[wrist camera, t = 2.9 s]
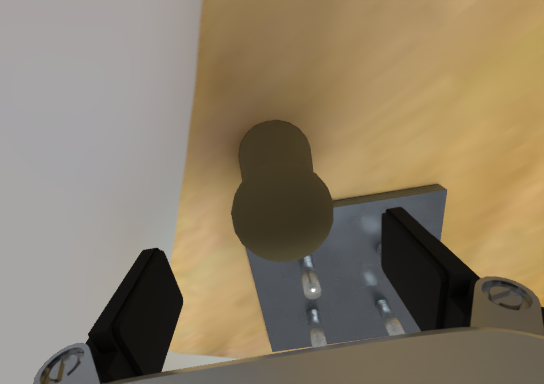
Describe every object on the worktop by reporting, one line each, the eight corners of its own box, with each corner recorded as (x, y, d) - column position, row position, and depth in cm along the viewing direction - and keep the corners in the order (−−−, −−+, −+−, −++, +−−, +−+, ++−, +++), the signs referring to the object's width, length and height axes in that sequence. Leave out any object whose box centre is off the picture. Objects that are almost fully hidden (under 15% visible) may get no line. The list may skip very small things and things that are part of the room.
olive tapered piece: (326, 151, 22) (378, 222, 12) (279, 202, 24) (291, 299, 14) (269, 103, 20) (276, 139, 10) (223, 162, 22) (192, 240, 12)
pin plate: (240, 215, 24) (235, 251, 20) (438, 184, 24) (482, 213, 19) (272, 342, 32) (273, 389, 27) (422, 321, 31) (450, 366, 27)
